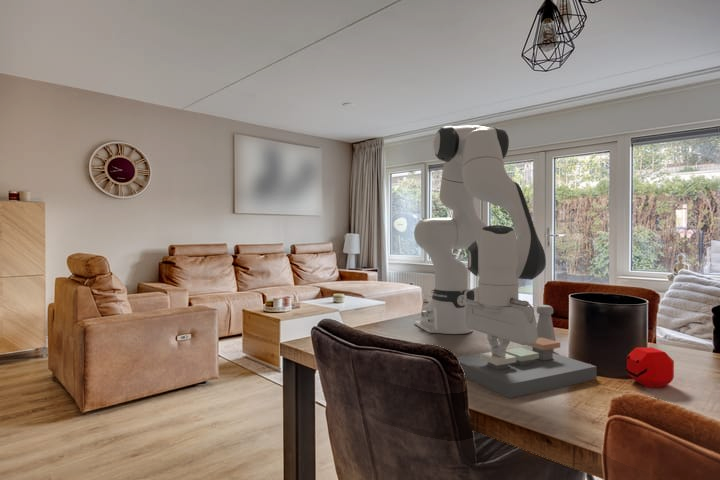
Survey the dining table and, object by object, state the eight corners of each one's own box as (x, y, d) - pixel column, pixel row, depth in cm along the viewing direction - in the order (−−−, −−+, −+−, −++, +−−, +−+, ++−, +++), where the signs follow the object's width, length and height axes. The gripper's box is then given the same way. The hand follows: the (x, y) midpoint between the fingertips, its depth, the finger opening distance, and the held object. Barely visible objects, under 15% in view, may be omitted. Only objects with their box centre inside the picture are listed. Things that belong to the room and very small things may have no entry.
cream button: (480, 371, 101) (480, 353, 100) (498, 368, 103) (498, 350, 103) (497, 378, 95) (497, 360, 95) (516, 375, 98) (516, 356, 98)
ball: (620, 378, 99) (620, 345, 99) (653, 377, 99) (653, 344, 99) (646, 391, 91) (646, 355, 91) (681, 389, 91) (681, 354, 91)
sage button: (503, 367, 103) (503, 350, 103) (520, 364, 106) (520, 347, 106) (520, 374, 98) (520, 356, 98) (538, 370, 101) (538, 353, 101)
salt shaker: (558, 354, 118) (558, 307, 118) (536, 353, 119) (536, 307, 119) (553, 348, 124) (553, 304, 124) (532, 347, 125) (532, 303, 125)
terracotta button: (525, 356, 106) (525, 339, 106) (541, 353, 109) (541, 337, 108) (543, 362, 101) (543, 345, 101) (560, 359, 103) (560, 342, 103)
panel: (450, 370, 106) (450, 358, 106) (529, 356, 116) (529, 345, 116) (509, 398, 88) (509, 384, 88) (596, 379, 98) (596, 366, 98)
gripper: (544, 301, 91) (544, 366, 91) (479, 289, 109) (480, 343, 109) (521, 303, 88) (522, 370, 88) (459, 291, 107) (460, 346, 107)
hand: (498, 355), depth 99 cm, fingers closed, pressing on cream button
